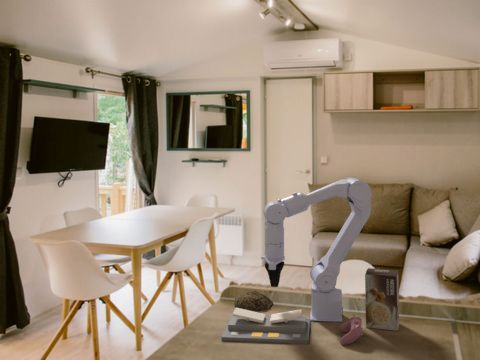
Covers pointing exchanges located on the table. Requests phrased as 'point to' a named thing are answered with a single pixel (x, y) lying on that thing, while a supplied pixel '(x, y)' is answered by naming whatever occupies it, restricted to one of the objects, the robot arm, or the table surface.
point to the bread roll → (252, 301)
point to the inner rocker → (286, 316)
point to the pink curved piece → (351, 330)
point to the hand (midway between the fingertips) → (274, 286)
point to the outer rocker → (249, 315)
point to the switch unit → (267, 331)
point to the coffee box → (382, 299)
